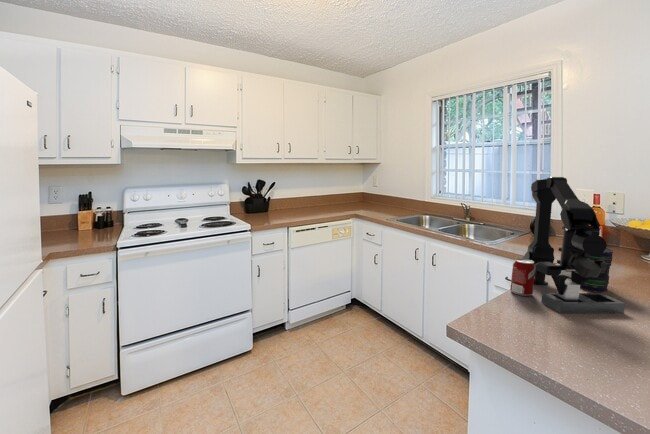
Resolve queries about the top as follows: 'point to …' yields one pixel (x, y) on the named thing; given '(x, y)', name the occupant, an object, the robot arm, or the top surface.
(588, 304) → the tray
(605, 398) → the top surface
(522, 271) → the soda can
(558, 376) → the top surface
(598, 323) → the top surface
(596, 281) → the storage jar
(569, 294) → the grey foam cube
